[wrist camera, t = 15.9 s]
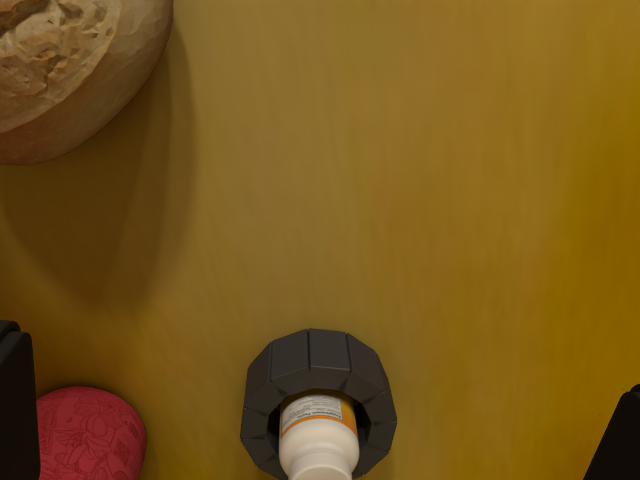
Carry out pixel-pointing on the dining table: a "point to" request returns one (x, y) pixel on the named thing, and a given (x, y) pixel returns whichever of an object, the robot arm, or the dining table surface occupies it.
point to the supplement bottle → (318, 435)
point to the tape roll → (317, 372)
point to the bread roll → (72, 69)
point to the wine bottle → (89, 436)
